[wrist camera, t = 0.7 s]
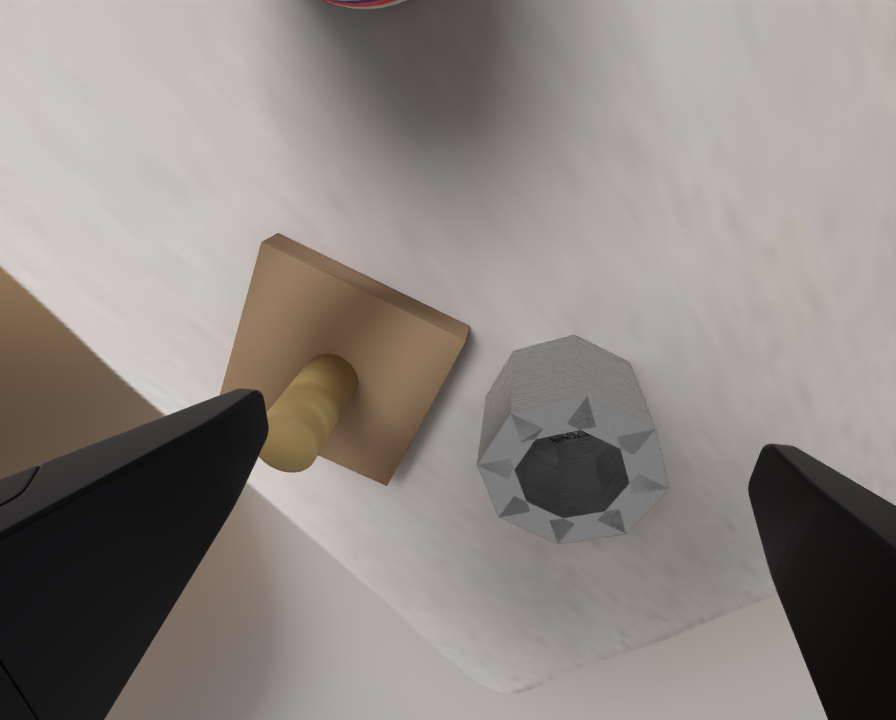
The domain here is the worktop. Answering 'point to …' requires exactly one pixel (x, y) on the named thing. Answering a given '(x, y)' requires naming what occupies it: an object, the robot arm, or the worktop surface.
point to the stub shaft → (337, 361)
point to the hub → (570, 443)
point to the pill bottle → (365, 3)
